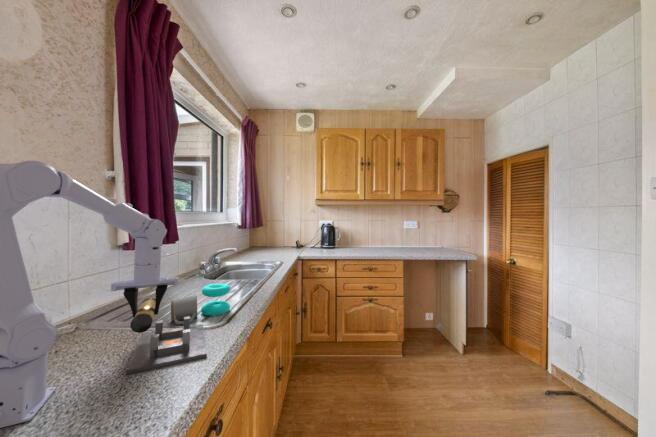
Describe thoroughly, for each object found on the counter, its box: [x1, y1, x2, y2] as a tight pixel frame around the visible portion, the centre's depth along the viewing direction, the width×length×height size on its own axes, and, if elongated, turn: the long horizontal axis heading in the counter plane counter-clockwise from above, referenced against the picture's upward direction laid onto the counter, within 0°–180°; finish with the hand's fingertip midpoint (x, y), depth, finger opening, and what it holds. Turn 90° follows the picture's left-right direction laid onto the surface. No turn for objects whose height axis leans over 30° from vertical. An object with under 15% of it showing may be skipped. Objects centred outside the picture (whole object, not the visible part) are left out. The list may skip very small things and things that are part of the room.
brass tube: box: [130, 297, 156, 334], centre depth 67 cm, size 16×4×4 cm, turn 29°
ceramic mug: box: [170, 294, 198, 325], centre depth 87 cm, size 11×8×8 cm
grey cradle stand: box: [125, 316, 208, 376], centre depth 68 cm, size 21×16×6 cm
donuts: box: [200, 282, 231, 317], centre depth 96 cm, size 10×10×10 cm
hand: (146, 314), depth 67 cm, fingers closed on brass tube, 4 cm apart
